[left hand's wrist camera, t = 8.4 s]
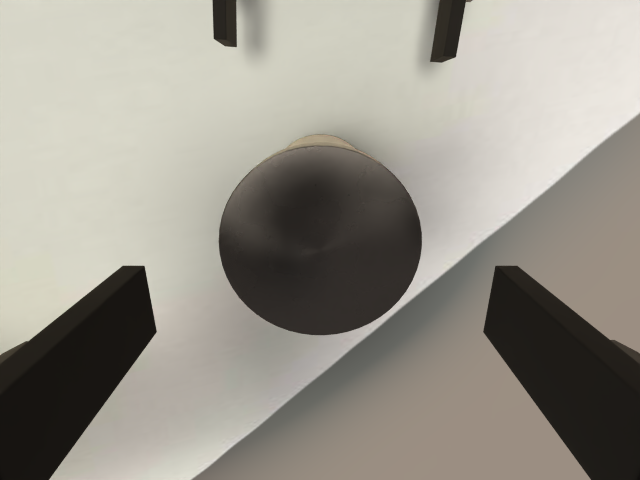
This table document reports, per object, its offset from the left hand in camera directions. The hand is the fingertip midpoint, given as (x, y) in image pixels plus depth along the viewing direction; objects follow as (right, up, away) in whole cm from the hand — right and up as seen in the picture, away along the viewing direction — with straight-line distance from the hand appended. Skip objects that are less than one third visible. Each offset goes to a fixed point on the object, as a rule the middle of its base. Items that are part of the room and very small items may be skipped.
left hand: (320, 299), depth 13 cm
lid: (0, +2, +5) cm, 5 cm away
